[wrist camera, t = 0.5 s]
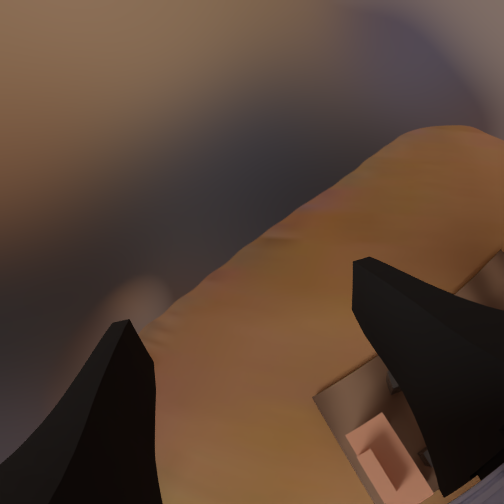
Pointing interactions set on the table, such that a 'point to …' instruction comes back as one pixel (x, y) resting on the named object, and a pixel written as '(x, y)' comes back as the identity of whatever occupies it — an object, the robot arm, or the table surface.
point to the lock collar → (388, 463)
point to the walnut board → (396, 406)
